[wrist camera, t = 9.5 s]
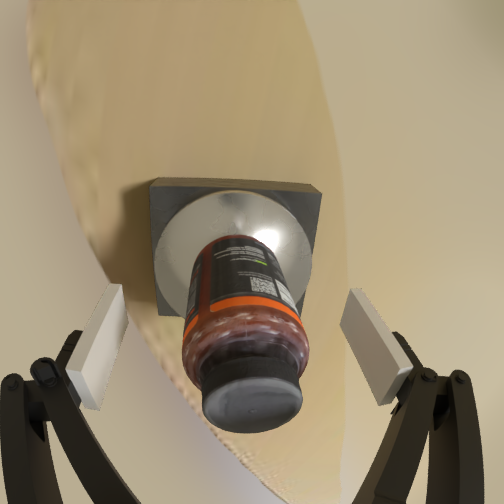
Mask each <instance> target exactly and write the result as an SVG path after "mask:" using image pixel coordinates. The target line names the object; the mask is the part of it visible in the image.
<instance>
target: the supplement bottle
mask: <svg viewBox="0 0 504 504" xmlns="http://www.w3.org/2000/svg"><path fill="white" fill-rule="evenodd" d="M308 359H309V343H308V339H307V335H306V333H305V330H304V328H303V325H302V322H301V319H300V317H299V314H298V312H297V309H296V306H295V304H294V301H293V298H292V296H291V293H290V291H289V288H288V286H287V283H286V280H285V278H284V275H283V272H282V270H281V267H280V265H279V262H278V261H277V258H276V256H275V255H274V253H273V252H272V250H271V249H270V248H269V247H268V246H267V245H266V244H265V243H263V242H262V241H260V240H258V239H256V238H254V237H251V236H247V235H239V234H236V235H227V236H223V237H220V238H218V239H216V240H214V241H212V242H210V243H209V244H208V245H206V246H205V247H204V248H203V249H202V250H201V251H200V253H199V254H198V256H197V258H196V260H195V262H194V265H193V269H192V273H191V280H190V287H189V295H188V302H187V310H186V318H185V326H184V333H183V345H182V361H183V366H184V369H185V371H186V374H187V376H188V377H189V378H190V380H191V381H192V383H193V384H194V385H195V386H196V387H197V388H198V389H199V390H200V391H201V392H202V410H203V413H204V416H205V417H206V418H207V420H208V421H209V422H210V423H211V424H213V425H215V426H216V427H218V428H220V429H222V430H225V431H229V432H234V433H259V432H264V431H268V430H272V429H275V428H277V427H280V426H281V425H283V424H285V423H287V422H289V421H290V420H291V419H292V418H293V417H295V416H296V415H297V413H298V412H299V411H300V409H301V406H302V402H303V397H302V392H301V389H300V385H299V378H300V377H301V375H302V374H303V372H304V370H305V368H306V366H307V363H308Z"/></svg>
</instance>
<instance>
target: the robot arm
mask: <svg viewBox="0 0 504 504" xmlns="http://www.w3.org/2000/svg"><path fill="white" fill-rule="evenodd" d="M127 325H128V317H127V312H126V307H125V302H124V296H123V290H122V284H112V283H109V285H108V287H107V288H106V290H105V292H104V294H103V295H102V297H101V299H100V301H99V302H98V305H97V306H96V308H95V310H94V312H93V314H92V316H91V317H90V319H89V321H88V323H87V325H86V327H85V329H84V331H79V330H74V331H73V332H72V333H71V334H70V335H69V336H68V338H67V339H66V341H65V343H64V345H63V347H62V349H61V351H60V353H59V355H58V356H57V358H56V360H55V361H54V360H53V359H51V358H47V357H44V358H39V359H38V360H36V361H35V362H34V363H33V364H32V365H31V368H30V373H31V375H32V377H33V379H34V380H30V381H24V380H23V378H22V377H21V376H20V375H18V374H16V373H14V374H13V373H12V374H9V375H7V376H6V377H4V379H3V380H2V383H1V390H0V441H1V457H2V467H3V476H4V482H5V489H6V495H7V501H8V504H63V501H62V498H61V494H60V490H59V486H58V483H57V478H56V474H55V470H54V465H53V460H52V456H51V450H50V445H49V438H48V431H47V424H46V421H51V422H52V425H53V427H54V430H55V432H56V434H57V436H58V439H59V441H60V443H61V445H62V447H63V449H64V451H65V453H66V455H67V457H68V459H69V461H70V463H71V465H72V467H73V469H74V470H75V472H76V474H77V476H78V478H79V479H80V481H81V483H82V485H83V486H84V488H85V490H86V491H87V493H88V495H89V496H90V498H91V499H92V501H93V502H94V504H141V502H140V501H139V500H138V499H137V498H136V496H135V495H134V494H133V493H132V491H131V490H130V488H129V487H128V486H127V484H126V483H125V482H124V480H123V479H122V477H121V476H120V475H119V473H118V472H117V470H116V469H115V467H114V466H113V464H112V463H111V461H110V460H109V458H108V457H107V455H106V454H105V452H104V450H103V449H102V447H101V446H100V444H99V442H98V441H97V439H96V438H95V436H94V434H93V432H92V430H91V429H90V427H89V425H88V423H87V421H86V420H85V418H84V416H83V414H82V412H81V410H80V409H79V406H80V403H81V401H82V403H83V405H84V407H85V408H88V409H93V410H98V411H99V410H100V408H101V404H102V401H103V397H104V394H105V391H106V387H107V384H108V381H109V378H110V375H111V372H112V368H113V366H114V362H115V360H116V357H117V354H118V350H119V348H120V345H121V342H122V339H123V336H124V334H125V331H126V328H127ZM340 327H341V329H342V331H343V333H344V335H345V337H346V339H347V341H348V343H349V345H350V347H351V349H352V351H353V353H354V355H355V357H356V359H357V361H358V363H359V365H360V367H361V369H362V372H363V374H364V376H365V378H366V380H367V382H368V384H369V386H370V388H371V391H372V393H373V395H374V397H375V399H376V401H377V404H378V406H381V405H386V404H390V403H392V401H393V399H394V398H395V396H396V397H397V399H398V401H399V402H398V403H397V405H396V406H395V408H394V409H393V411H392V412H391V414H393V415H392V418H391V421H390V423H389V426H388V428H387V431H386V433H385V436H384V438H383V441H382V443H381V445H380V448H379V450H378V452H377V455H376V457H375V459H374V461H373V463H372V465H371V467H370V470H369V472H368V474H367V476H366V478H365V480H364V482H363V484H362V486H361V488H360V490H359V492H358V493H357V495H356V497H355V499H354V501H353V502H352V504H406V499H407V497H408V494H409V491H410V489H411V486H412V483H413V480H414V478H415V475H416V472H417V469H418V466H419V462H420V460H421V456H422V453H423V449H424V446H425V443H426V439H427V435H428V431H429V467H428V484H427V496H426V504H484V469H483V455H482V445H481V436H480V428H479V422H478V416H477V409H476V403H475V398H474V393H473V388H472V383H471V379H470V377H469V376H468V374H466V373H465V372H464V371H462V370H454V371H453V372H452V373H451V375H450V376H449V377H445V376H438V375H437V373H436V372H435V371H434V370H432V369H430V368H426V367H425V368H424V367H423V365H422V364H421V362H420V361H419V359H418V358H417V356H416V355H415V353H414V352H413V350H411V347H410V346H409V345H408V343H407V342H406V340H405V339H404V337H403V336H402V335H400V334H399V333H398V332H391V331H390V329H389V328H388V326H387V325H386V324H385V322H384V320H383V319H382V317H381V316H380V314H379V313H378V312H377V310H376V309H375V307H374V306H373V304H372V303H371V301H370V300H369V299H368V297H367V296H366V294H365V293H364V291H363V290H362V289H361V288H359V289H358V288H356V289H350V291H349V295H348V298H347V302H346V305H345V309H344V312H343V316H342V319H341V322H340Z"/></svg>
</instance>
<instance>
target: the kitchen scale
mask: <svg viewBox="0 0 504 504" xmlns="http://www.w3.org/2000/svg"><path fill="white" fill-rule="evenodd" d="M149 193H150V221H151V239H152V254H153V266H154V277H155V288H156V297H157V306H158V314H159V315H160V316H181V317H183V318H184V319H185V318H186V310H187V302H188V295H189V287H190V280H191V273H192V269H193V265H194V262H195V260H196V258H197V256H198V254H199V253H200V251H201V250H202V249H203V248H204V247H205V246H206V245H208V244H209V243H210V242H212V241H214V240H216V239H218V238H220V237H223V236H227V235H236V234H239V235H247V236H251V237H254V238H256V239H258V240H260V241H262V242H263V243H265V244H266V245H267V246H268V247H269V248H270V249H271V250H272V252H273V253H274V255H275V256H276V258H277V261H278V262H279V265H280V267H281V270H282V272H283V275H284V278H285V280H286V283H287V286H288V288H289V291H290V293H291V296H292V298H293V301H294V304H295V306H296V309H297V312H298V314H299V317H300V316H301V312H302V307H303V302H304V297H305V292H306V287H307V285H308V282H309V279H310V275H311V269H312V254H313V248H314V242H315V236H316V230H317V223H318V217H319V211H320V204H321V197H322V193H321V192H319V191H318V190H317V189H316V188H315V187H313V186H312V185H311V184H302V183H290V182H276V181H260V180H242V179H218V178H157V179H156V180H155V181H154V182H153V183H152V184H151V185H150V186H149Z"/></svg>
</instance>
